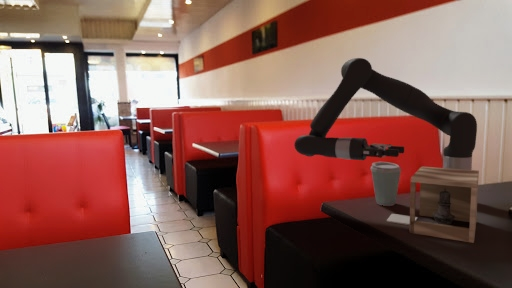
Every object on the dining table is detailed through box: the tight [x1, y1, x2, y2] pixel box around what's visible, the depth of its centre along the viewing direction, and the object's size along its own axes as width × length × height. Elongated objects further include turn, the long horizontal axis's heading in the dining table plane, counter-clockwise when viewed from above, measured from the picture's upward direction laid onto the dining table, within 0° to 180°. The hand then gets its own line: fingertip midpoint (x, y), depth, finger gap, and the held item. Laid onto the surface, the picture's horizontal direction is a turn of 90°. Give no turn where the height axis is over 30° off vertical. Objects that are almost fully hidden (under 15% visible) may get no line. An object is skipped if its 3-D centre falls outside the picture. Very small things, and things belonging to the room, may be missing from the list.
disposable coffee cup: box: [370, 161, 402, 207], centre depth 136 cm, size 11×11×15 cm
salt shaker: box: [433, 189, 455, 225], centre depth 111 cm, size 6×6×12 cm
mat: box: [386, 213, 419, 226], centre depth 119 cm, size 8×8×1 cm
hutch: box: [408, 166, 480, 244], centre depth 111 cm, size 19×16×16 cm
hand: (401, 151), depth 119 cm, fingers open, 8 cm apart
